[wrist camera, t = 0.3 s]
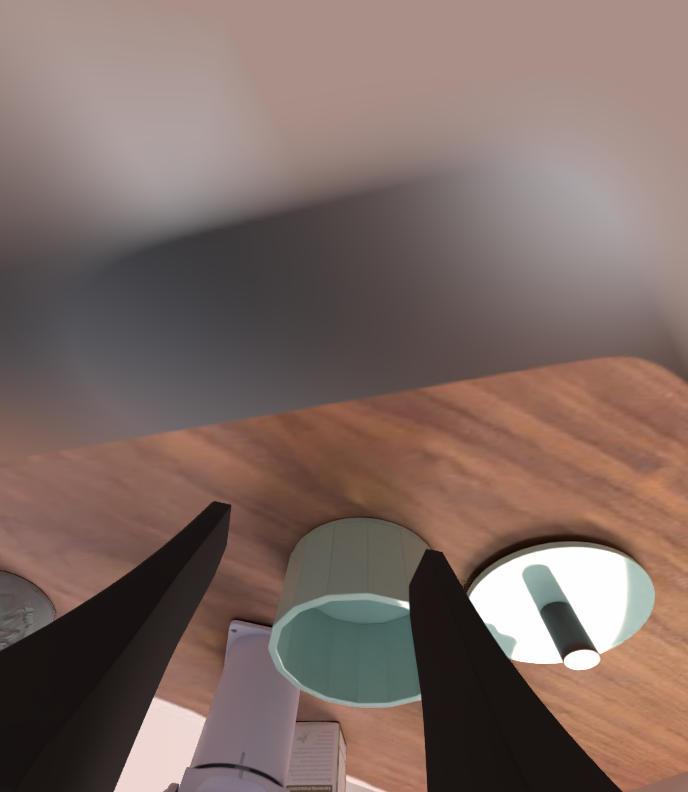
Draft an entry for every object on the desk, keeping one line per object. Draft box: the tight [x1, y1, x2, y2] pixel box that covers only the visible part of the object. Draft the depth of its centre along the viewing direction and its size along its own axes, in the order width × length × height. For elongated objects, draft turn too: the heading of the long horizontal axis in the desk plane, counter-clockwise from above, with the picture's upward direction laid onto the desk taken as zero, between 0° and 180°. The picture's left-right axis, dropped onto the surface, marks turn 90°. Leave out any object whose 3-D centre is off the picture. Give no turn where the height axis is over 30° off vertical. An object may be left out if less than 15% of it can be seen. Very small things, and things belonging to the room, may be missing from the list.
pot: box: [268, 518, 431, 707], centre depth 24 cm, size 12×12×6 cm
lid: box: [466, 541, 655, 670], centre depth 24 cm, size 14×14×4 cm
